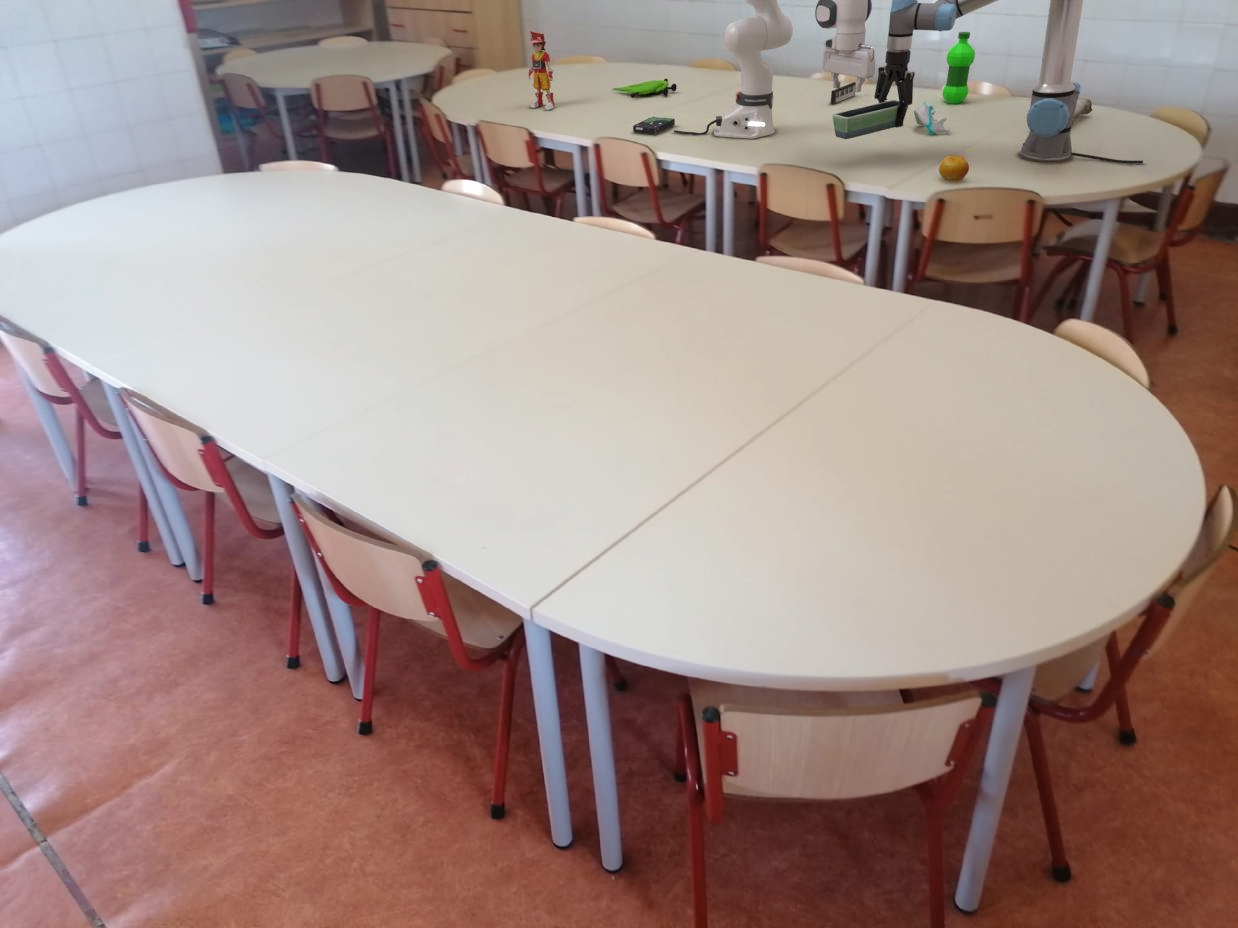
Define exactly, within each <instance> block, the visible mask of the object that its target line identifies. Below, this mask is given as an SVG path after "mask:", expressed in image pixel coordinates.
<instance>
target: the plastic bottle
mask: <svg viewBox="0 0 1238 928" xmlns="http://www.w3.org/2000/svg"><path fill="white" fill-rule="evenodd" d="M970 36H971V32H970V31H959V32H958V36H957V39H958V42H957V43H956V44H954V45H953V46H952V47H951V48H950V49H949V50H948V52H947V54H946V63H947V64H948V69H947V70H948V71H947V76H946V77H947V78H946V84H945V85H944V87H943V90H942V97H943V99H944V100H945V101H946V102H947V103H948V104H960V103H961V102H963V101H964V100H966V98H967V96H968V95H969V85H968V79H969V73H970V67H971V65H972V64H973V63H974V61H975V57H976V51H975V49H974V47H972V45H971V44H970V43H969V42H968V41H969V39H970V38H971V37H970Z"/></svg>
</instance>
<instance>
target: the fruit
mask: <svg viewBox="0 0 1238 928" xmlns="http://www.w3.org/2000/svg"><path fill="white" fill-rule="evenodd" d="M969 171H970V164H969V162H968V160H967V159H966V158H965V157H964V156H961V155H957V154H955V155H949V156H947V157H945V158H943V159H942V160H941V162H940V164H939V167H938V173H939V176H940V177H941V178H942V179H944V180H945V181H949V182H959V181H960V180H963V179H964V178H965V177H966V176H967V175H968V173H969Z"/></svg>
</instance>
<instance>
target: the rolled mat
mask: <svg viewBox="0 0 1238 928" xmlns="http://www.w3.org/2000/svg"><path fill="white" fill-rule="evenodd" d="M1092 111H1093V108H1092V100H1091V99H1090V98H1081V97H1080V98H1079V97H1078V100H1077V104H1076V109H1075V113H1074V117H1073V121H1074V120H1075V119H1077V117H1079V116H1084V115H1088V114H1090V113H1091V112H1092Z"/></svg>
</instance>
